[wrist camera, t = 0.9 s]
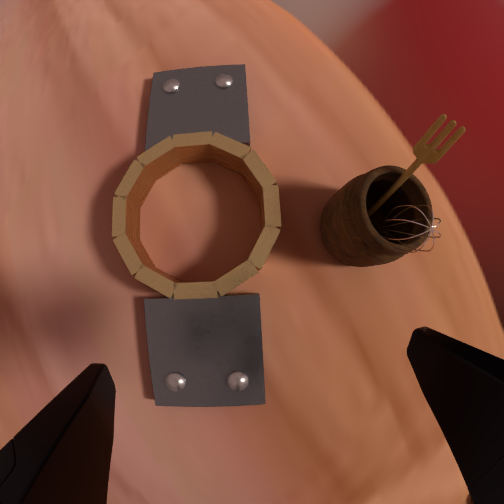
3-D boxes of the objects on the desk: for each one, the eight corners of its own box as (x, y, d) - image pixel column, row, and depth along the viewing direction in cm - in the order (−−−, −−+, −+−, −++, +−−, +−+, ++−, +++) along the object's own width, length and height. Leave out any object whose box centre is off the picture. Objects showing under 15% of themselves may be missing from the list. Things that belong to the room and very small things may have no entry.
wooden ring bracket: (284, 397, 20) (290, 413, 17) (140, 399, 20) (128, 414, 17) (261, 71, 23) (264, 49, 20) (140, 81, 22) (131, 62, 20)
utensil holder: (307, 253, 22) (383, 220, 10) (330, 177, 22) (403, 90, 10) (377, 278, 22) (489, 271, 10) (394, 204, 22) (495, 149, 10)
